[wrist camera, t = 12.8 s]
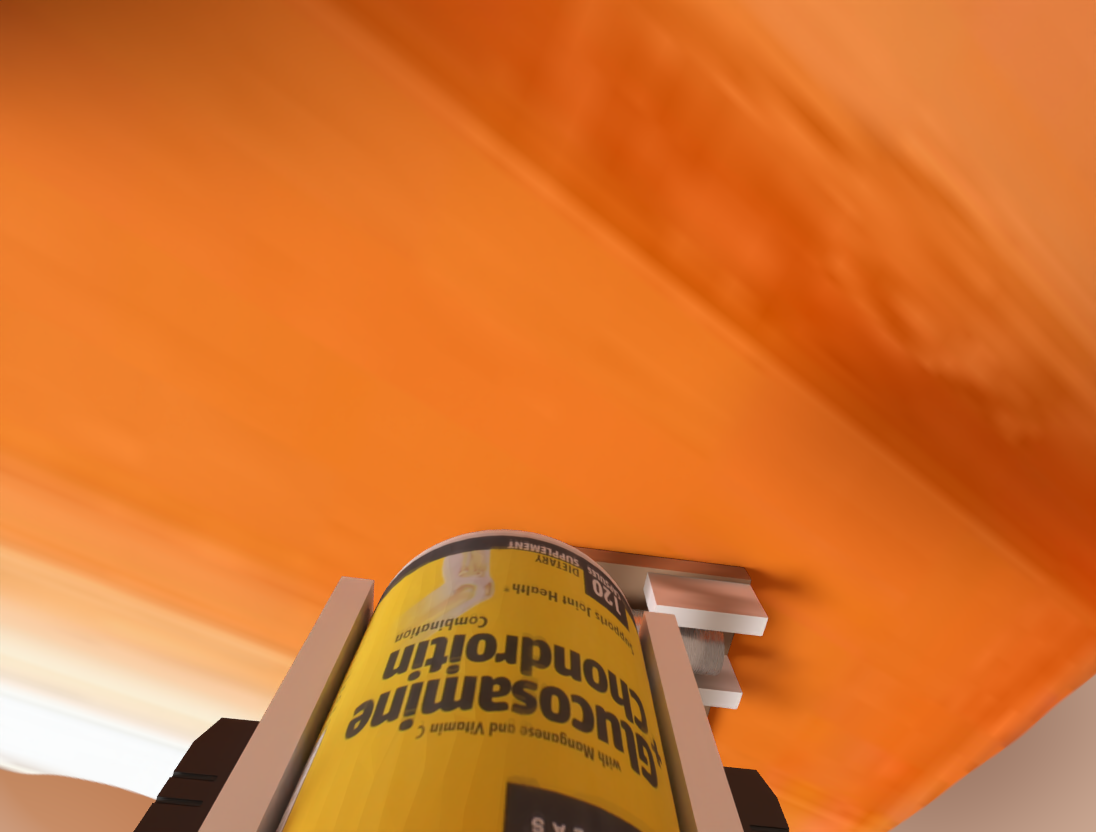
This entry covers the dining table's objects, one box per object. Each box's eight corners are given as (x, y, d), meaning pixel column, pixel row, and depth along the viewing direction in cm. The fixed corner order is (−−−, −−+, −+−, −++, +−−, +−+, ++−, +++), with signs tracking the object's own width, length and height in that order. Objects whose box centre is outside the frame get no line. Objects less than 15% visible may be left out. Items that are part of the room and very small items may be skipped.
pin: (585, 634, 33) (589, 674, 30) (594, 593, 32) (598, 630, 29) (701, 647, 33) (715, 688, 30) (713, 607, 32) (729, 645, 29)
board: (447, 778, 39) (430, 878, 33) (475, 534, 32) (459, 605, 26) (671, 801, 39) (692, 902, 34) (744, 567, 33) (787, 644, 27)
